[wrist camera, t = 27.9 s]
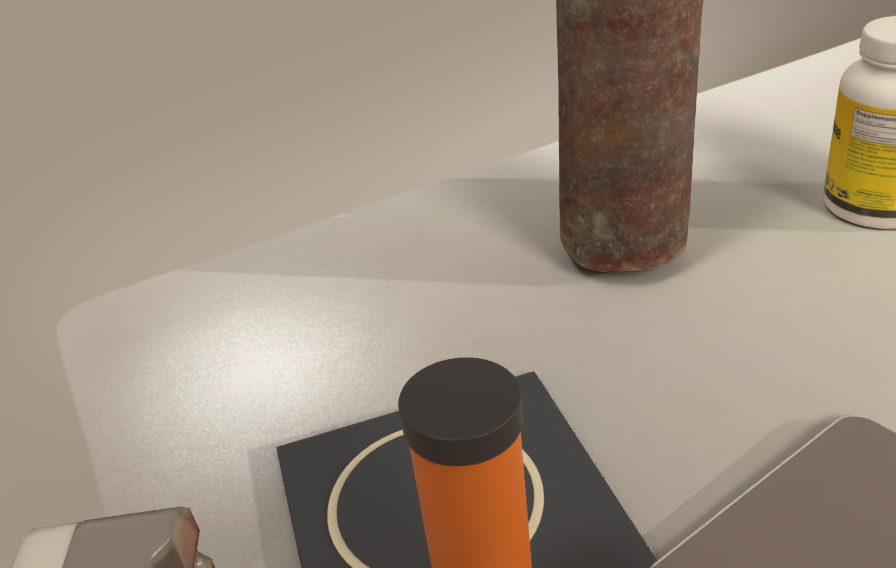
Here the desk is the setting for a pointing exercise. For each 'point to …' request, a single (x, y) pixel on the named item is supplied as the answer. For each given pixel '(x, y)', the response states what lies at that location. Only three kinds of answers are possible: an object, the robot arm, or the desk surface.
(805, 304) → the desk surface
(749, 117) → the desk surface
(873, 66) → the pill bottle
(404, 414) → the marker
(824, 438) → the smartphone
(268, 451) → the desk surface
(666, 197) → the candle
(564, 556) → the pad
